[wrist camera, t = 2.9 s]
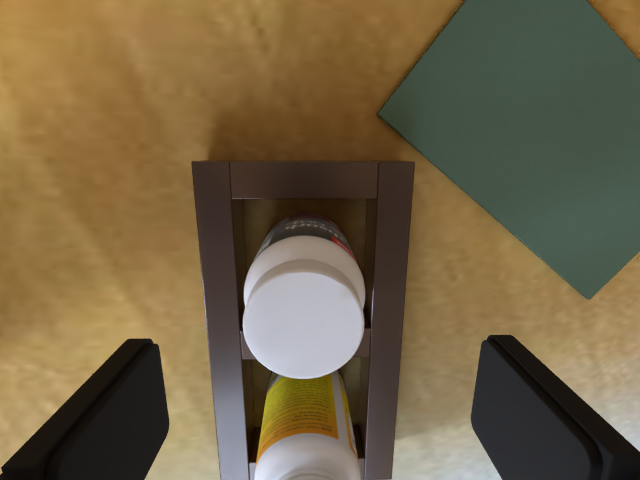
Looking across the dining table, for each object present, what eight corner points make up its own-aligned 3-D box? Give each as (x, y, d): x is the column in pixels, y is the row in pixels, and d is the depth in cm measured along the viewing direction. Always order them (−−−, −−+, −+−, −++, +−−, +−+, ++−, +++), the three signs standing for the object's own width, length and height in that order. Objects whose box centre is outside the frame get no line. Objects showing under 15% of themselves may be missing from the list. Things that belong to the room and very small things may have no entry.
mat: (376, 114, 20) (377, 113, 20) (518, -69, 18) (523, -74, 18) (585, 297, 24) (589, 300, 24) (722, 163, 22) (730, 163, 22)
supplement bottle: (253, 378, 24) (218, 531, 15) (311, 334, 24) (316, 464, 14) (302, 425, 26) (300, 595, 16) (358, 384, 25) (394, 536, 15)
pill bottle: (361, 229, 22) (405, 288, 12) (329, 303, 23) (345, 409, 14) (279, 197, 21) (258, 233, 12) (250, 275, 22) (209, 367, 13)
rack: (230, 449, 26) (220, 486, 23) (207, 160, 20) (190, 161, 18) (382, 444, 26) (391, 479, 24) (400, 160, 21) (415, 161, 18)
